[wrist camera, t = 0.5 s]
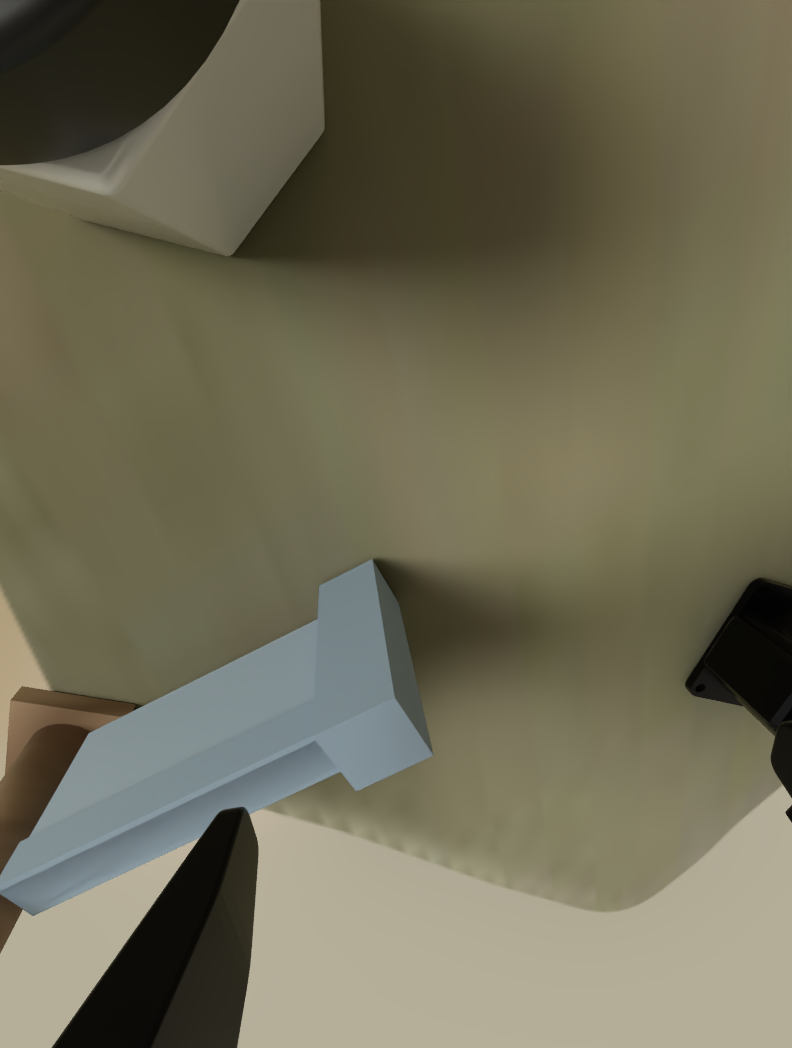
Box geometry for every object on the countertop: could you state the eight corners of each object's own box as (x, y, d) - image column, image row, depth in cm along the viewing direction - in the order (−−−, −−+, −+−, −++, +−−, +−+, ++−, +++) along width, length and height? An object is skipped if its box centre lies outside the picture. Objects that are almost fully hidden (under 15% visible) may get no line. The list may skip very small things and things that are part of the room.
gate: (130, 736, 22) (33, 941, 15) (92, 700, 21) (-30, 900, 14) (398, 603, 21) (433, 755, 14) (372, 559, 20) (394, 697, 13)
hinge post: (135, 704, 22) (-9, 993, 12) (122, 777, 23) (-15, 1084, 14) (22, 686, 21) (-225, 986, 11) (15, 764, 22) (-208, 1085, 13)
